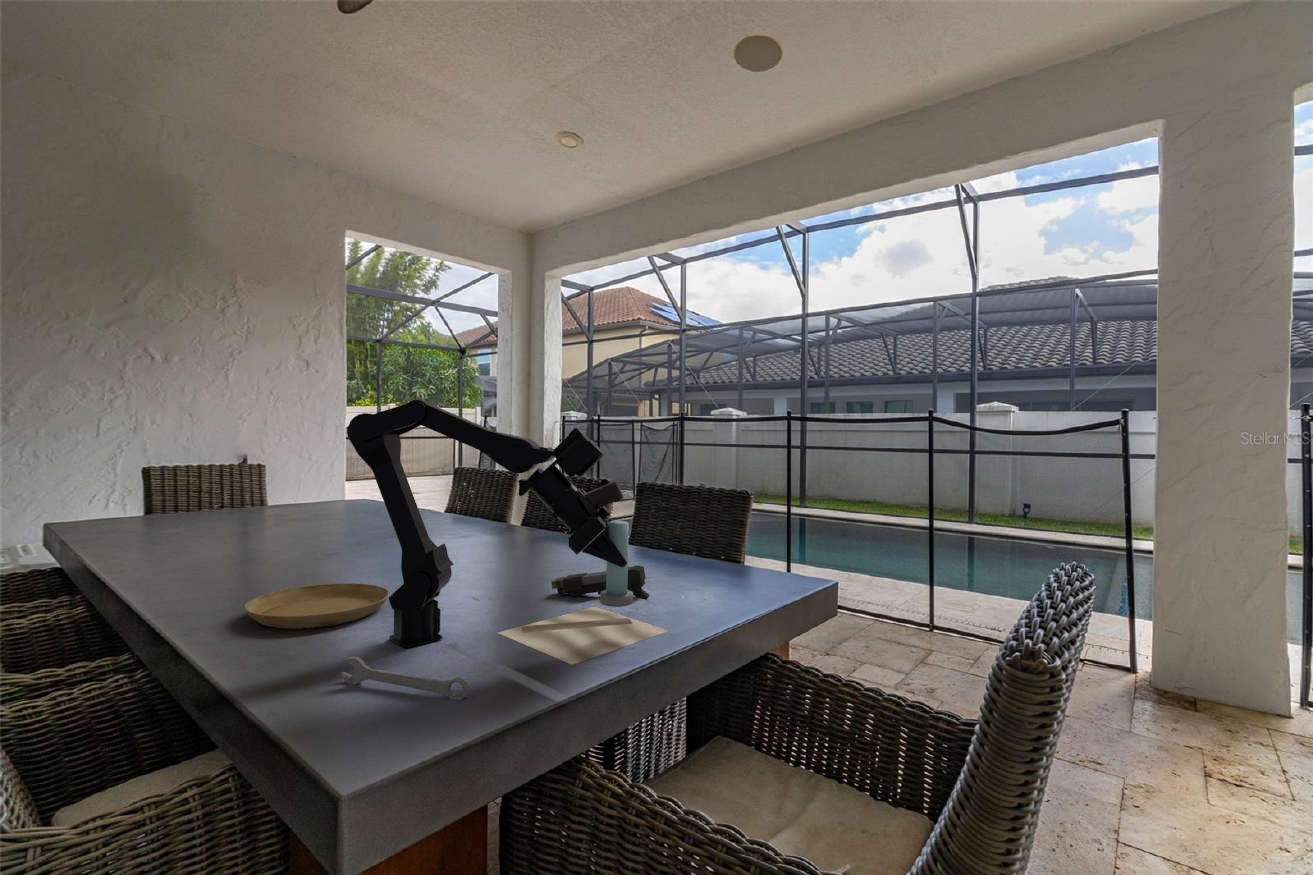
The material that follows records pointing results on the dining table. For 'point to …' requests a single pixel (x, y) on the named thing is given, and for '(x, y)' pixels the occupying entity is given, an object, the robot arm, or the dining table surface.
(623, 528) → the marker post
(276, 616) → the plant saucer
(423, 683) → the combination wrench
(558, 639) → the board
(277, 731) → the dining table surface
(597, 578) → the gun
